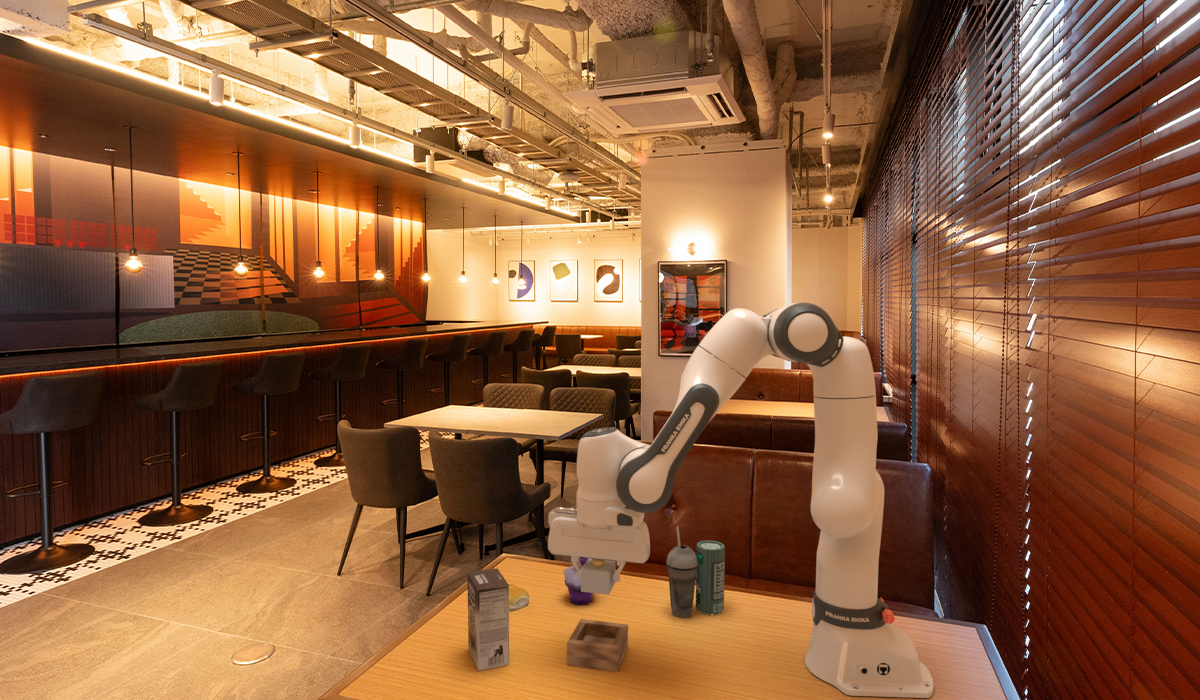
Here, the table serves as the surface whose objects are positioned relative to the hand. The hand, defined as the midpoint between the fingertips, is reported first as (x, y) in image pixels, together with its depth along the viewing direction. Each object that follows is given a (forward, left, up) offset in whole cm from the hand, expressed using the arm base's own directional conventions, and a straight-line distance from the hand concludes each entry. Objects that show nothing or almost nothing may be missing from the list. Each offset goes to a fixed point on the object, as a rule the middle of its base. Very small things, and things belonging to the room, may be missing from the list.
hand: (598, 578), depth 130 cm
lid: (0, 0, -2) cm, 2 cm away
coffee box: (+21, +6, -16) cm, 27 cm away
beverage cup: (-14, -22, -16) cm, 31 cm away
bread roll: (+26, -18, -16) cm, 35 cm away
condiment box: (0, 0, -16) cm, 16 cm away
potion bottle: (+10, -23, -16) cm, 30 cm away
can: (-20, -26, -16) cm, 36 cm away
